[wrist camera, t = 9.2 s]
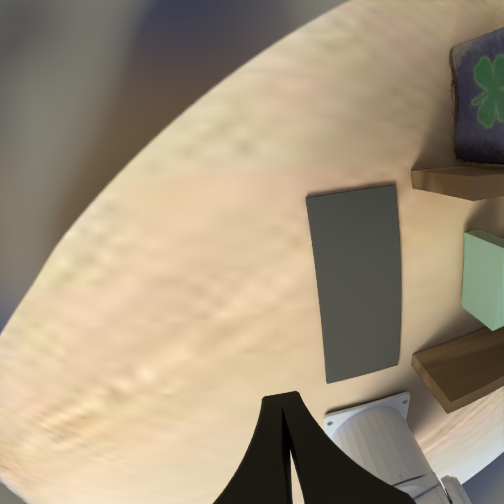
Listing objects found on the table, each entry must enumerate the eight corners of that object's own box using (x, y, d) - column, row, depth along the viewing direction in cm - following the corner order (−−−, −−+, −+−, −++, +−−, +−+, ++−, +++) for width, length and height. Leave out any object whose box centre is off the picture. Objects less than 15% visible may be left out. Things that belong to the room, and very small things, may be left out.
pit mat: (396, 362, 22) (398, 364, 22) (326, 381, 23) (327, 383, 22) (393, 184, 19) (395, 185, 18) (305, 198, 19) (306, 198, 19)
